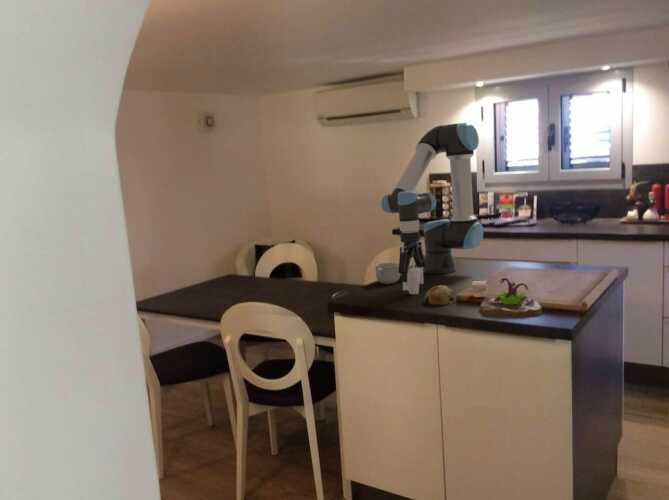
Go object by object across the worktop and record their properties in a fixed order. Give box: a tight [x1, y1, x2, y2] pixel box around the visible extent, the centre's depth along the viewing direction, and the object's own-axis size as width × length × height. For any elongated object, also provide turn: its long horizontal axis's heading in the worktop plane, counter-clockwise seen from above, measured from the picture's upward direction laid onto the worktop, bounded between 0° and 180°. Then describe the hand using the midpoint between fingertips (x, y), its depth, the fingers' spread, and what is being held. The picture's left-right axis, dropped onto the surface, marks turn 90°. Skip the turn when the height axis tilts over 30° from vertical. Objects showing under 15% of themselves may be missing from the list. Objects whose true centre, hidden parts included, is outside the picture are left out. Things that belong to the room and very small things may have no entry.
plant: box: [479, 277, 543, 319], centre depth 201 cm, size 20×20×11 cm
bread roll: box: [424, 284, 455, 306], centre depth 219 cm, size 10×10×8 cm
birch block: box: [470, 280, 488, 292], centre depth 223 cm, size 5×5×5 cm
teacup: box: [374, 262, 401, 285], centre depth 258 cm, size 14×11×8 cm
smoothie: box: [408, 257, 421, 295], centre depth 235 cm, size 6×6×14 cm
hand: (413, 286), depth 236 cm, fingers open, 11 cm apart
